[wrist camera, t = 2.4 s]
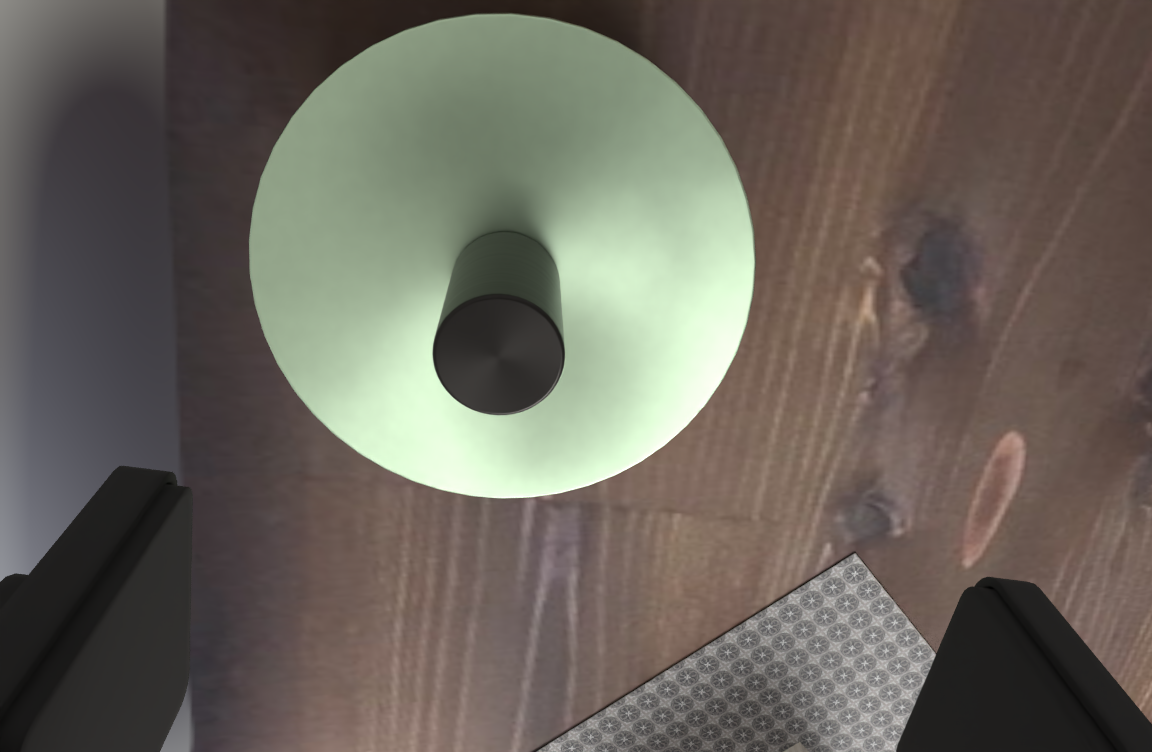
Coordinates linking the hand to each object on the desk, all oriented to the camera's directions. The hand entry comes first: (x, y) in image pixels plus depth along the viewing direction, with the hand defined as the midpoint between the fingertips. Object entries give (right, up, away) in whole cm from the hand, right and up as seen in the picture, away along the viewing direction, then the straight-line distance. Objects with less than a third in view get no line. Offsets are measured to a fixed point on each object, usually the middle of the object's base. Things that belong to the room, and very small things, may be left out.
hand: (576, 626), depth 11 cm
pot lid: (-2, +5, +11) cm, 13 cm away
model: (+7, -17, +32) cm, 37 cm away
